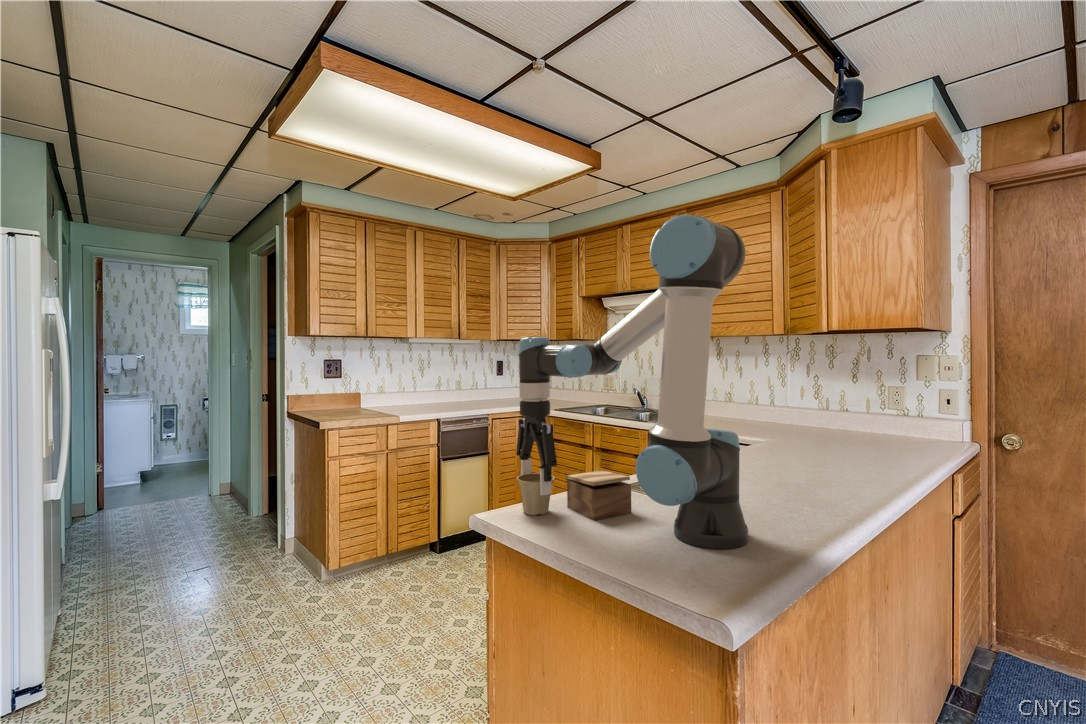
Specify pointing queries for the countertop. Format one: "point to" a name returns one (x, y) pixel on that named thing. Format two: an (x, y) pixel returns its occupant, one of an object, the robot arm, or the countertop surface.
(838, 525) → the countertop surface
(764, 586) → the countertop surface
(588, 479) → the lid
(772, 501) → the countertop surface
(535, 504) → the flower pot
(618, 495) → the box
